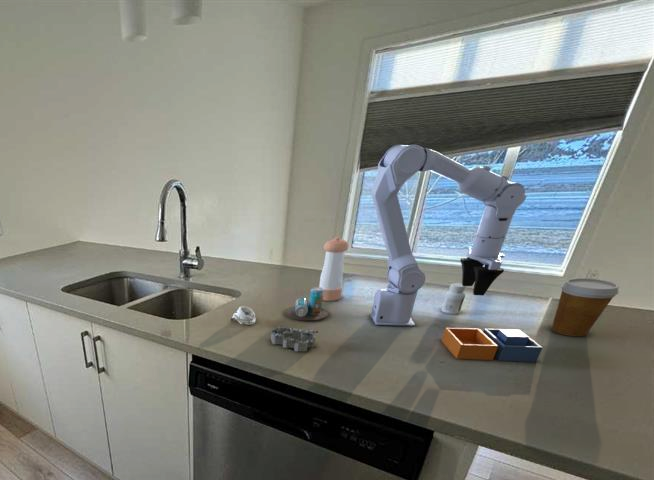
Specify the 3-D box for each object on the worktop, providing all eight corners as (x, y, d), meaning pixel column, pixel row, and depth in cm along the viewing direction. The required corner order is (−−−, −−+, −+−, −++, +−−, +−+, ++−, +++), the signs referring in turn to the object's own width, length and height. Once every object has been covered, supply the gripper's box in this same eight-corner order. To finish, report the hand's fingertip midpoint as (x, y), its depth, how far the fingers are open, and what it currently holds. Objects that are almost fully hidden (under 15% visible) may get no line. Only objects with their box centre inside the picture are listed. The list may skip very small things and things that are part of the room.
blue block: (501, 352, 92) (507, 336, 90) (493, 345, 95) (499, 329, 93) (522, 353, 91) (529, 337, 89) (513, 345, 94) (520, 330, 92)
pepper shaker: (344, 300, 130) (354, 238, 121) (321, 301, 131) (330, 240, 121) (335, 293, 137) (344, 234, 127) (313, 294, 137) (321, 236, 127)
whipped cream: (242, 318, 127) (242, 302, 125) (261, 320, 122) (261, 304, 120) (227, 324, 122) (227, 308, 120) (246, 327, 117) (246, 310, 115)
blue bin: (498, 360, 90) (503, 346, 88) (479, 341, 98) (484, 328, 97) (536, 361, 88) (542, 347, 86) (513, 342, 96) (519, 329, 95)
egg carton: (318, 345, 104) (320, 331, 102) (300, 354, 100) (302, 339, 98) (284, 334, 112) (285, 320, 110) (266, 342, 108) (267, 327, 106)
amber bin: (456, 358, 92) (461, 344, 91) (441, 340, 100) (445, 327, 99) (492, 360, 90) (498, 346, 89) (474, 341, 99) (479, 328, 97)
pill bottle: (462, 314, 113) (471, 287, 109) (444, 314, 114) (453, 287, 110) (455, 308, 117) (463, 282, 113) (438, 308, 118) (446, 282, 114)
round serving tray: (328, 322, 116) (332, 295, 112) (284, 320, 120) (287, 294, 116) (326, 308, 126) (330, 282, 122) (286, 306, 129) (288, 282, 125)
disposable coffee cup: (586, 325, 101) (610, 278, 95) (603, 341, 94) (630, 290, 88) (537, 322, 105) (557, 276, 99) (550, 337, 97) (572, 288, 91)
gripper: (525, 241, 92) (503, 299, 99) (497, 230, 104) (479, 282, 110) (488, 242, 94) (469, 299, 100) (464, 231, 106) (449, 282, 112)
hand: (472, 290), depth 106 cm, fingers open, 7 cm apart
